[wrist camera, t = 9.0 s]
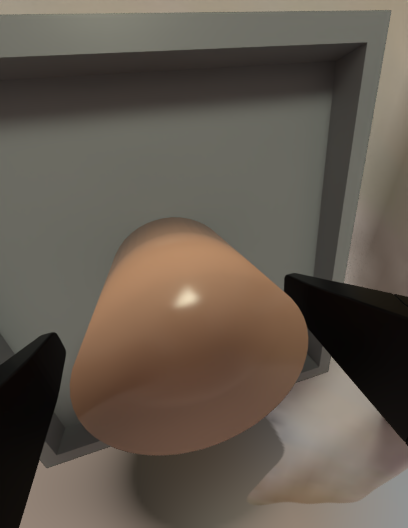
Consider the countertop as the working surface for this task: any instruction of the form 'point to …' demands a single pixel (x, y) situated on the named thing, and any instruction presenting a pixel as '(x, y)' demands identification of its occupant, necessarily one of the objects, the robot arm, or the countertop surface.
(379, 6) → the countertop surface
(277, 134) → the tray
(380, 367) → the robot arm
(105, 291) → the tan rounded cone
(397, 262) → the countertop surface
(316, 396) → the countertop surface
